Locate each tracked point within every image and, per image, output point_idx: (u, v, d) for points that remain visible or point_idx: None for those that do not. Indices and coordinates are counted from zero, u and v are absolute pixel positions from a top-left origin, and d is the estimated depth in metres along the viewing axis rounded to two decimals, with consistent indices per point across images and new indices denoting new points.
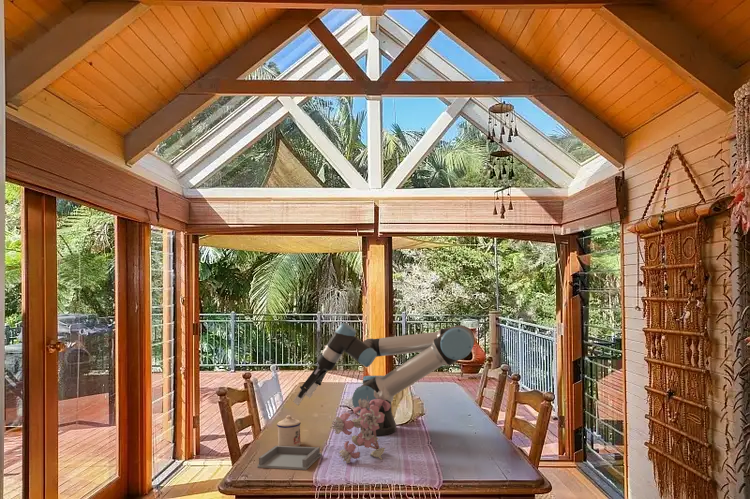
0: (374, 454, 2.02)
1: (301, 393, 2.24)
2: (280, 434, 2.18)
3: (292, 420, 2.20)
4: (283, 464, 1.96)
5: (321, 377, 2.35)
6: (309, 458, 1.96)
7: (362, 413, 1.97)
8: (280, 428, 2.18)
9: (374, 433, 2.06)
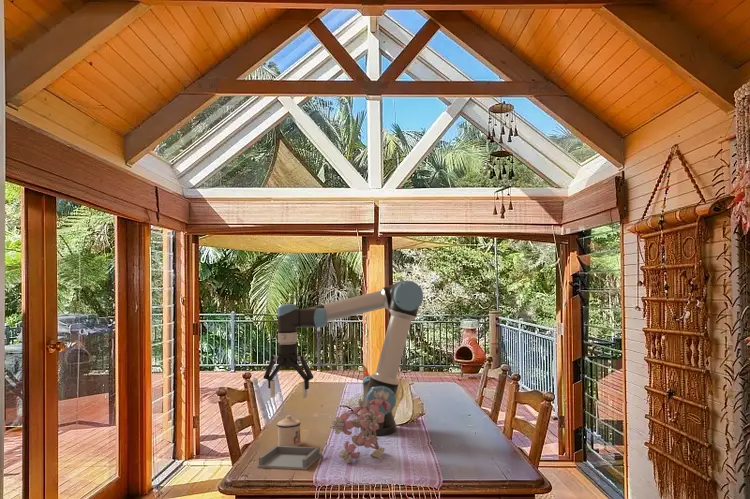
0: (374, 454, 2.02)
1: (308, 384, 2.22)
2: (280, 434, 2.18)
3: (292, 420, 2.20)
4: (283, 464, 1.96)
5: (280, 368, 2.26)
6: (309, 458, 1.96)
7: (362, 413, 1.97)
8: (280, 428, 2.18)
9: (374, 433, 2.06)
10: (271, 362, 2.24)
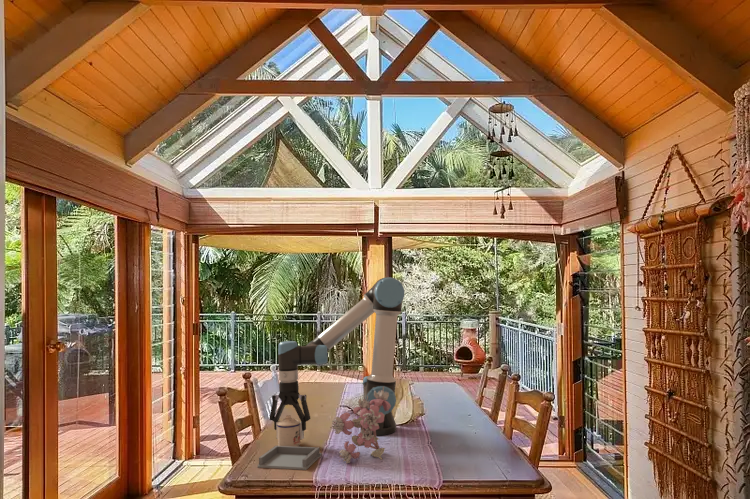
0: (374, 454, 2.02)
1: (305, 425, 2.21)
2: (280, 434, 2.18)
3: (292, 420, 2.20)
4: (283, 464, 1.96)
5: (283, 407, 2.25)
6: (309, 458, 1.96)
7: (362, 413, 1.97)
8: (280, 428, 2.18)
9: (374, 433, 2.06)
10: (273, 401, 2.23)
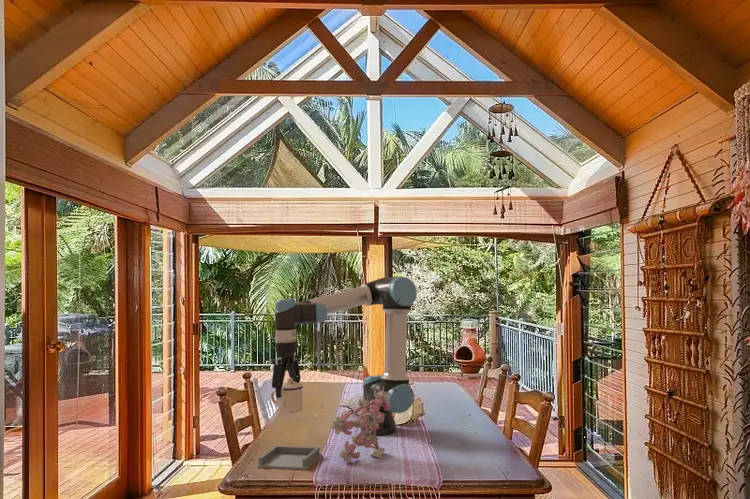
0: (374, 454, 2.02)
1: None
2: (296, 396, 2.02)
3: None
4: (283, 464, 1.96)
5: None
6: (309, 458, 1.96)
7: (362, 413, 1.97)
8: (296, 390, 2.02)
9: (374, 433, 2.06)
10: (280, 366, 2.00)
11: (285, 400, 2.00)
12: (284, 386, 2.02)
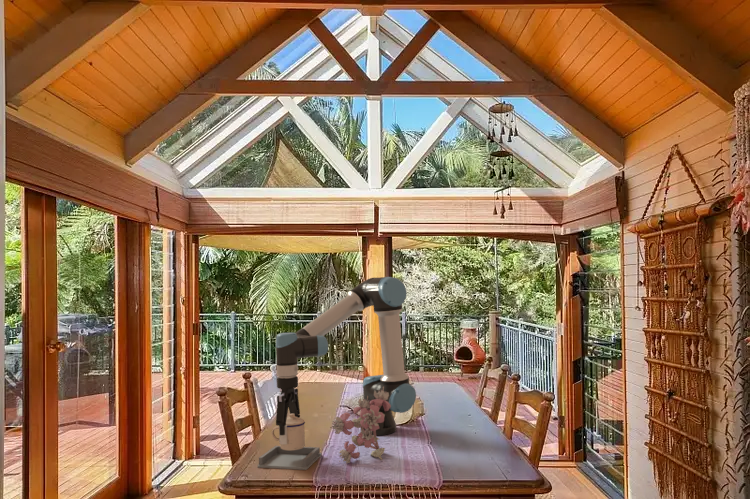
0: (374, 454, 2.02)
1: None
2: (300, 433, 1.98)
3: None
4: (283, 464, 1.96)
5: None
6: (309, 458, 1.96)
7: (362, 413, 1.97)
8: (300, 426, 1.99)
9: (374, 433, 2.06)
10: (284, 402, 1.96)
11: (289, 437, 1.97)
12: (287, 423, 1.98)
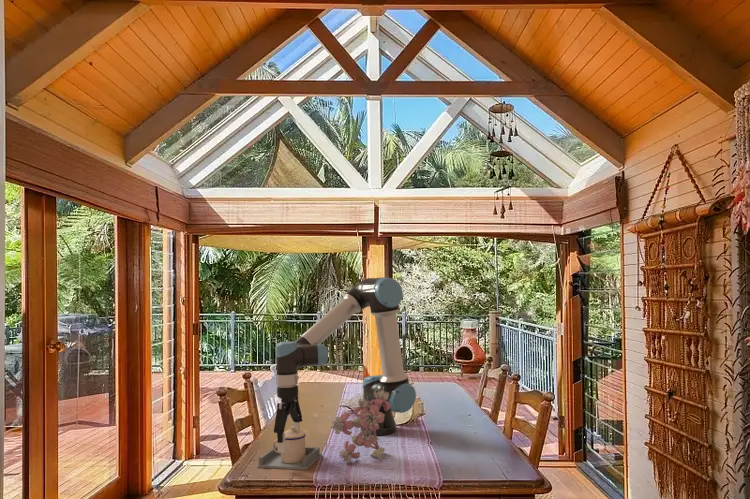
0: (374, 454, 2.02)
1: None
2: (301, 446, 1.98)
3: None
4: (283, 464, 1.96)
5: None
6: (309, 458, 1.96)
7: (362, 413, 1.97)
8: (301, 439, 1.98)
9: (374, 433, 2.06)
10: (284, 410, 1.95)
11: (289, 450, 1.97)
12: (288, 435, 1.98)
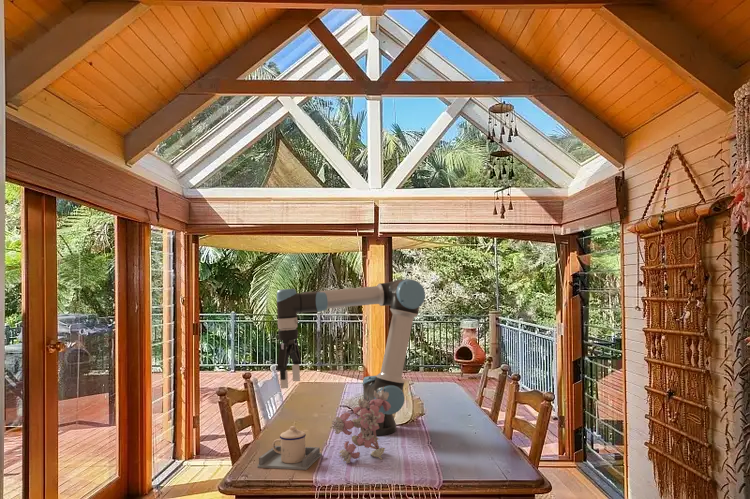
0: (374, 454, 2.02)
1: None
2: (301, 446, 1.98)
3: None
4: (283, 464, 1.96)
5: None
6: (309, 458, 1.96)
7: (362, 413, 1.97)
8: (301, 439, 1.98)
9: (374, 433, 2.06)
10: (286, 350, 2.11)
11: (289, 450, 1.97)
12: (288, 435, 1.98)
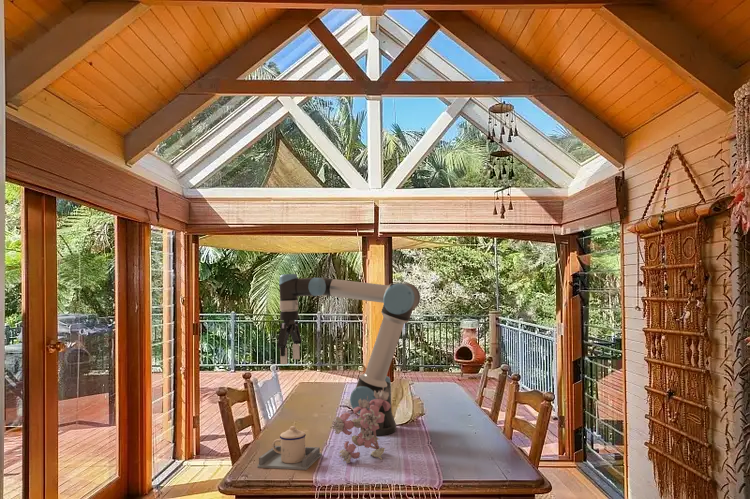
0: (374, 454, 2.02)
1: None
2: (301, 446, 1.98)
3: None
4: (283, 464, 1.96)
5: None
6: (309, 458, 1.96)
7: (362, 413, 1.97)
8: (301, 439, 1.98)
9: (374, 433, 2.06)
10: (286, 329, 2.31)
11: (289, 450, 1.97)
12: (288, 435, 1.98)
